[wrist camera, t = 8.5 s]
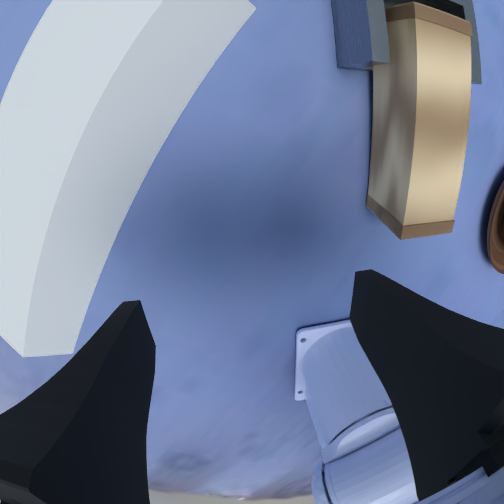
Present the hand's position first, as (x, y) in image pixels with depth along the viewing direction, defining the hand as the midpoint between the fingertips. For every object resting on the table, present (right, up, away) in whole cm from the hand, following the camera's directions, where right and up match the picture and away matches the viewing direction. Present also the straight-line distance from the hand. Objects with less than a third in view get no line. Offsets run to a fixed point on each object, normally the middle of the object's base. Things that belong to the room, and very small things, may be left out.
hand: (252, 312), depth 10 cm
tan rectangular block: (+9, +11, +6) cm, 16 cm away
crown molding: (-13, +7, +7) cm, 16 cm away
